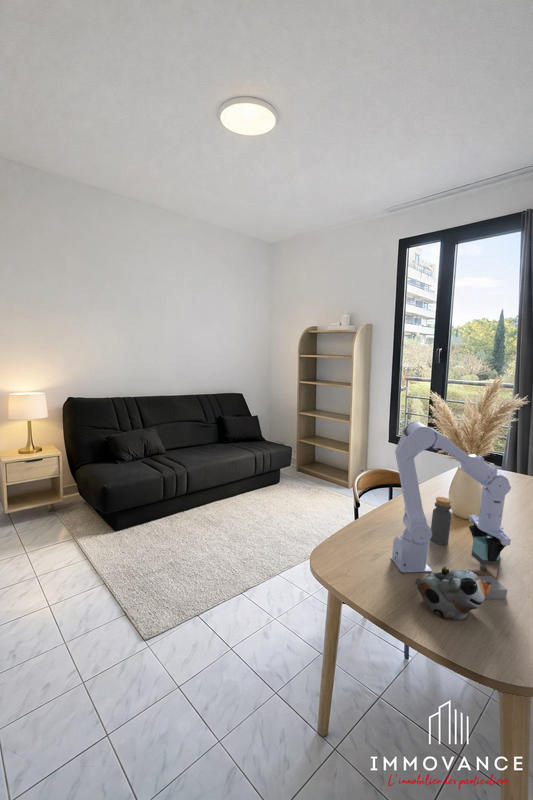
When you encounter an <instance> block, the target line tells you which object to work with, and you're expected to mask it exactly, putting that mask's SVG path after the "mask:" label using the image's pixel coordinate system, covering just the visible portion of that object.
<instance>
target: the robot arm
mask: <svg viewBox="0 0 533 800" xmlns="http://www.w3.org/2000/svg"><path fill="white" fill-rule="evenodd" d="M428 448H432V449H441V450H443V452H446V454H447V455H449V456H451V457H452V458H453V459H455V460H456V461H458V462H459V463H460V469H461V470H462V471H463V472H464V473H466V474H467V475H468V476H469V477H471V478H472V479H474V480H475V481H476V482H478V483H479V484H480V485H481V486H482V488H481V489H482V490H481V496H480V503H479V511H478V516H477V515H476V514H469V519H468V521H469V522H470V523H473V524H472V525H469V526H468V528H469V531H470V533H471V536H472V539H473V538H474V537H486V536H487V534H490V535H492V536H493V538H486V542H487V546H488V561H490V562H494V561H496V560H497V558H498V556H499V554H500V555H501V552H502V551H503V550H504V548H505V547H507V546H511V540H512V539H511V537H509V536H508V535H507V534H506V532H505V531H504V526H502V520H503V513H504V507H505V506H504V505H505V499H506V496H507V494H508V493H509V492H510V491H511V489H512V486H511V485H510V481H509V479H508V478H507V477H506V476H504V475H503V474H502V473H500V472H498V468H497V467H495V466H491V465H490V464H488V463H487V462H485V458H484V457H483V456H481V455H480V454H479V455H476V454H474V453H473V454H472V453H471V454H467V453H466V452H465V451H464V450H463V449H461V448H460V447H459V446H458V445H457V444H455V443H454V442H452V441H451V440H450V439H449V438H448V437H446V436H445V435H444V434H442V433H441V432H439V431H437V430H436V429H434V428H432V427H430V426H427V425H426V424H424V422H422V421H419V420H414V421H411V422H409V423H407V425H406V426H405V427H404V428H403V429H402V431H401V436H400V439H399V440H398V443H397V445H396V448H395V451H394V452H395V453H394V454H395V459H396V465H397V468H398V469H397V470H398V475H399V479H400V480H399V481H400V486H401V491H402V497H403V502H404V503H403V504H404V508H403V510H404V514H403V518H402V521H403V522H402V523H403V524H404V526H405V529H404V531H403V533H402V535H400V536H396V537H394V539H393V542H392V555H391V556H390V558H391V560H392V562H393V563H394V564H395V565H396V566H397V568H398V569H399V571H400V572H401V573H404V574H405V573H433V570H432V569H431V567H430V566H428V564H427V559H428V551H429V550H428V549H429V541H431V537H432V530H431V526H430V525H428V521H427V517H426V514H425V512H424V508H423V504H422V496H421V492H420V487H419V481H418V480H419V479H418V473H417V470H416V468H417V467H416V464H415V458H416V457H418V455H419V454H420V453H422V452H423V451H425V450H427V449H428Z"/></svg>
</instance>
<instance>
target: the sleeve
mask: <svg viewBox="0 0 533 800" xmlns="http://www.w3.org/2000/svg"><path fill="white" fill-rule="evenodd" d="M486 538H491V537H489V536H486V537H474V538H473V537H472V540H473V542H472V548H471V554H470V555H471V557H472V556H473V557H474V558H475V559H476V560H478V561H479V562H480V563H481V564H482V565H498V564H499V563H500V559H501V553H500V554H499V556H498V558H497V560H496V561H494V562H490V561H488V546H487V542H486ZM499 558H500V559H499ZM499 565H500V564H499ZM499 565H498V566H499Z"/></svg>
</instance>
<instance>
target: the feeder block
mask: <svg viewBox="0 0 533 800" xmlns="http://www.w3.org/2000/svg"><path fill="white" fill-rule="evenodd" d="M478 577H479V578H480V579H481V580H482V581H486V582H491V585H490V591H489V594H488V595H487V596H486V597H485V599H484V600H490V599H496V600H497V599H506V598H507V596H508V595H507V594H508V589H507V588H506V587H505V586H504V585H503V584H502V583H500V582H499V581H498V580H497V578H496V579H495V578H493V577H492V576H478Z"/></svg>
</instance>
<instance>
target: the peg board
mask: <svg viewBox="0 0 533 800" xmlns="http://www.w3.org/2000/svg"><path fill="white" fill-rule="evenodd" d="M487 536H489V537H491V538H493V536H492V535H490V534H487ZM500 559H501V557H500V558H499V560H500ZM499 565H500V564H498V565H482V564H481V563H480V562H479V561H478V560H476V559H475V558H474V557H473V556H472V555H471V560H470V564H469V567H468V569H467V570H468V571H472V572H473V573H474V574H476V575H477V576H492V577H493V578H495V579H496V580H497V577H498V570H499Z"/></svg>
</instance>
